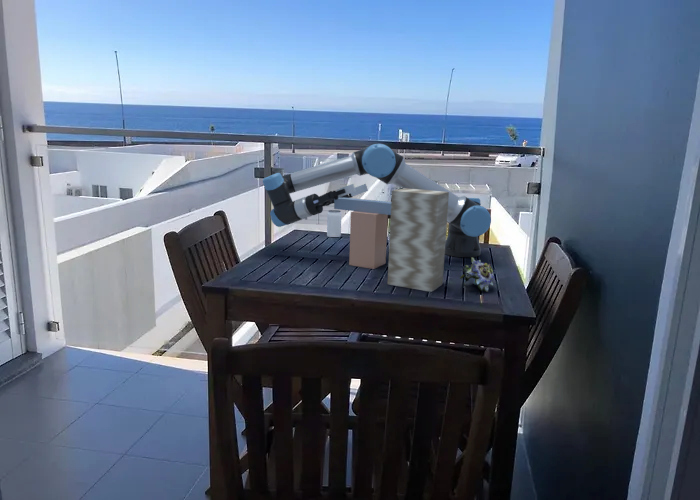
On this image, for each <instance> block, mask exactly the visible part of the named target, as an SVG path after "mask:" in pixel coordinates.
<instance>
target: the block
mask: <svg viewBox="0 0 700 500" xmlns="http://www.w3.org/2000/svg"><path fill="white" fill-rule="evenodd" d="M388 216H389V215H386V214H377V213H368V212H358V211H350V226H349V227H350V231H349V257H348V258H349V260H348V266H354V267H359V268H365V269H373V270H374V269H377V268H379V267H382V266H384V265H385V264H386V258H387V242H388V241H387V238H388V221H389V220H388Z"/></svg>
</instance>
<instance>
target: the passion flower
mask: <svg viewBox="0 0 700 500" xmlns="http://www.w3.org/2000/svg"><path fill="white" fill-rule="evenodd" d="M470 258H471V263H472V264H471V265H467V264H466V265H464V267H463V268H462V272H463V274H462V275H461V276H460V277H459V278H460V280H462V279H464V280H463V281H464V282H463V286H465V285H466V282H468V281H470V279H473V284H474V285H475V286H477V288H478V289H479V290H480V291H484V292H487V293H488V292H489V286H491V287H493V286H494V283H493V280H494V278H495V277H494V271H493V268H492V264H491V263H487V262H482V261H481V259H479V260H478V259H477V260H475V257H470ZM469 266H470V267H469Z"/></svg>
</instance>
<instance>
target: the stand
mask: <svg viewBox="0 0 700 500" xmlns="http://www.w3.org/2000/svg"><path fill="white" fill-rule="evenodd" d="M448 199H449V192H444V191H432V190H419V189H407V188H403V189H401V188H398V189H394V190H391V199H390V200H391V201H390V202H391V215H390V224H389V225H390V227H389V245H388V263H387V267H388V268H387V269H388V270H387V285H390V286H396V287H402V288H406V289H413V290H419V291H424V292H431V293H432V292H434V291H436V290H437V289H438V288H439V287H441V286H442V285H443V281H444V270H445V269H444V266H445V256H446V254H445V242H446V239H447V226H448V222H447V213H448Z"/></svg>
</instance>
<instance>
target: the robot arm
mask: <svg viewBox="0 0 700 500" xmlns="http://www.w3.org/2000/svg"><path fill="white" fill-rule="evenodd" d="M356 175H357V176H364V175H369V176H371V177H374V178H376V179H377V180H380V182H383V183H384V184H386V185H392V184H394V185H395V186H396V187H398V188H400V187H404V188H407V189H419V190H432V191H444V192H449V199H448V213H447V224H448V223H449V224H448V235H447V236H446V241H445V255H447V256H449V257H456V258H477V257H480V256H481V253H482V252H481V251H482V249H481V245H480V241H479V237H481V236H482V235H484V234H485V233H486V232H487V231H488V230H489V229H490V227H491V224H492V216H491V214H490V212H489V210H488V209H487V208H486V207H484V206H482V205H481V204H482V203H481V199H480V198H476V197H467V196H466V195H462V196H458V195H456V193H455V194H454V193H453V192H452V191H450V190H449V189H446V188H445V187H444V186H442V185H441V184H438V183H437V182H435V181H434V180H432V179H431V178H429V177H427V175H424V174H423V173H421V172H420V171H418V170H417V169H415V168H414V167H411V166H410V165H409V164H407V162H406V160H405V157H403V156H402V155H400V154H399V153H397V152H396V151H394V150H392V149H391V147H390V146H388V145H387V144H383V143H372V144H370V145H368V146H366V147H364V148H362V149H359V150H356V151H353V152H352V153H351V155H349V156H348V155H347V156H345V157H342V158H338V159H334V160H332V161H329V162H326V163H322V164H319V165H315V166H311V167H307V168H305V169H301V170H298V171H295V172H291V173H287V174H284V175H282V173H280V172H276V173H273V174H271V175H269V176H266V177H264V178H263V179H262V184H263V186H264V190H265V191H266V193H267V196H268V198H269V199H270V202H271V204H272V207H273V208H272V209H271V210H270V213H269V216H270V220H271V222H272V223H273V225H275V226H276V227H278V228H282V227H284V226H289V225H291V224H293V223H297V222H299V221H302V220H308V218H310V217H312V216H316V215H319V214H321V213H322V212H323V210H324V207H328V206H330V205H332V204H333V205H334V199H335V200H337V199H338V198H353V197H355V196H359V195H360V194H363V193H367V192H368V191H369V189H368V186H367V184H366V183H364V184H360V185H357V186H355V184H354V183H352V184H351V183H350V184H349V185H345V186H342V187H341V188H337V189H336V190H333V191H332V190H329V191H328V192H326V193H324V194H322V195H320V196H319V195H318V194H317V193H312V194H310V195H306V196H304V197H300V198H298V199H296V200H293V199H292V197H291V194H294V193H296V192H300V191H303V190H306V189H310V188H313V187H317V186H321V185H324V184H327V183H331V182H333V181H338V180H342V179H344V178H348V177H351V176H356Z"/></svg>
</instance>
